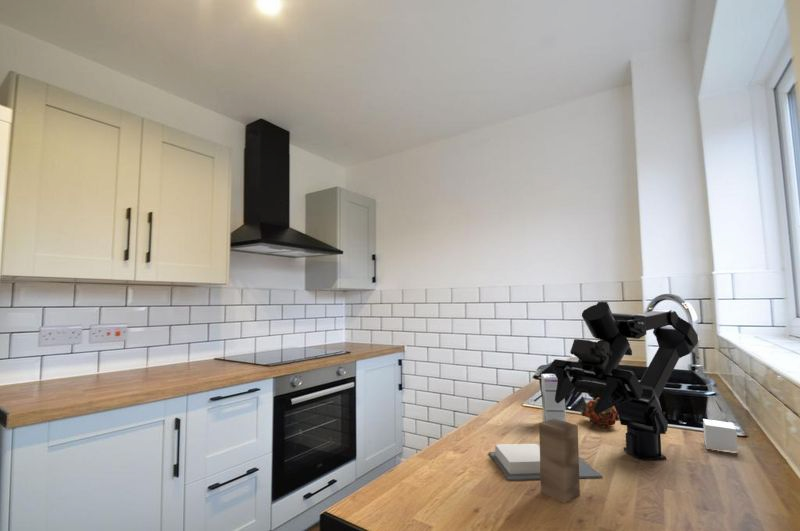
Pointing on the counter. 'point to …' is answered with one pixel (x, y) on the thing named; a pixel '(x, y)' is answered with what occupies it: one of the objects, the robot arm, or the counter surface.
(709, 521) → the counter surface
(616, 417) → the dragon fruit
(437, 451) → the counter surface
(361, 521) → the counter surface
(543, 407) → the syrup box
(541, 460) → the walnut pillar block
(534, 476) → the build board
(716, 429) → the white cube
